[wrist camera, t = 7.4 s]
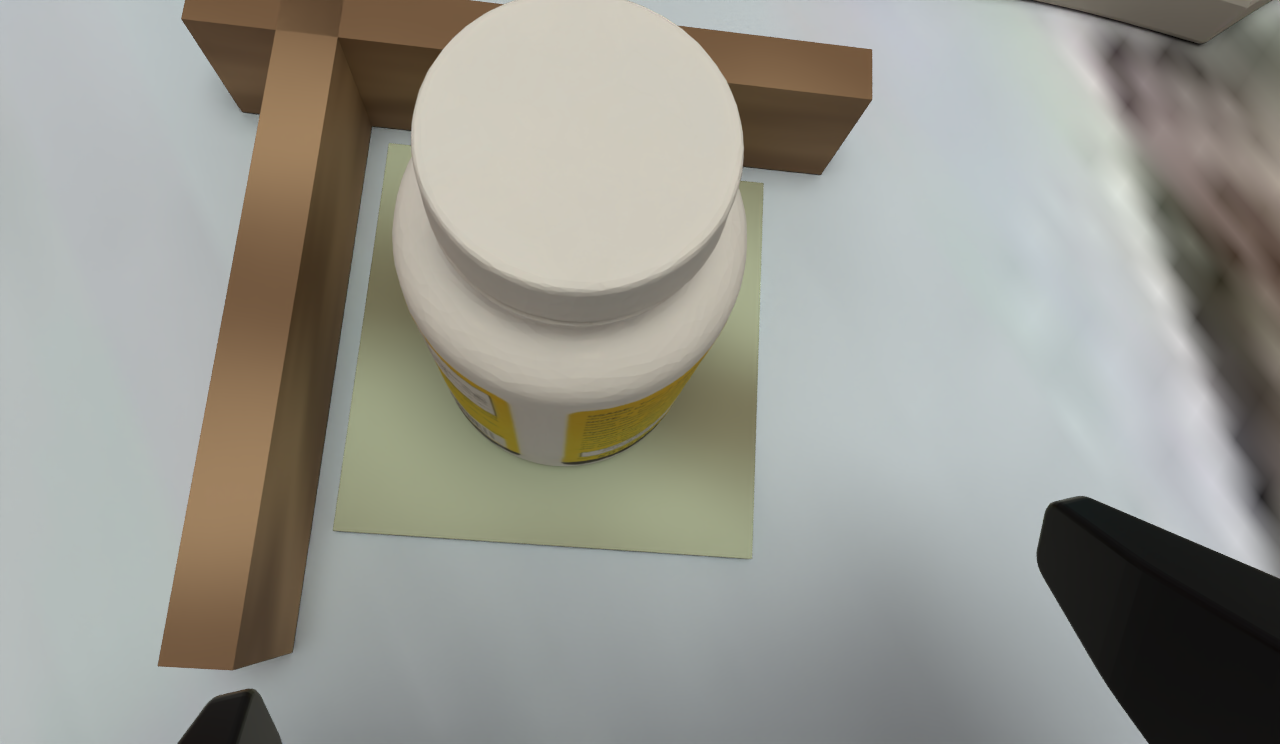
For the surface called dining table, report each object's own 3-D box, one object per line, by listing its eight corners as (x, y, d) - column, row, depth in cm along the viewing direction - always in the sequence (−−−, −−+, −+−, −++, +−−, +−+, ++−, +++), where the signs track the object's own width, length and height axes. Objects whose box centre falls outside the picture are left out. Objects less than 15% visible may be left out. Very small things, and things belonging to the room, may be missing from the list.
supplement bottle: (704, 270, 20) (841, 5, 11) (654, 494, 19) (761, 413, 10) (480, 213, 20) (422, -110, 11) (413, 436, 19) (279, 292, 9)
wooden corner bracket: (813, 681, 19) (873, 704, 15) (140, 644, 17) (42, 659, 14) (821, 131, 22) (871, 49, 18) (250, 66, 21) (192, -34, 17)
